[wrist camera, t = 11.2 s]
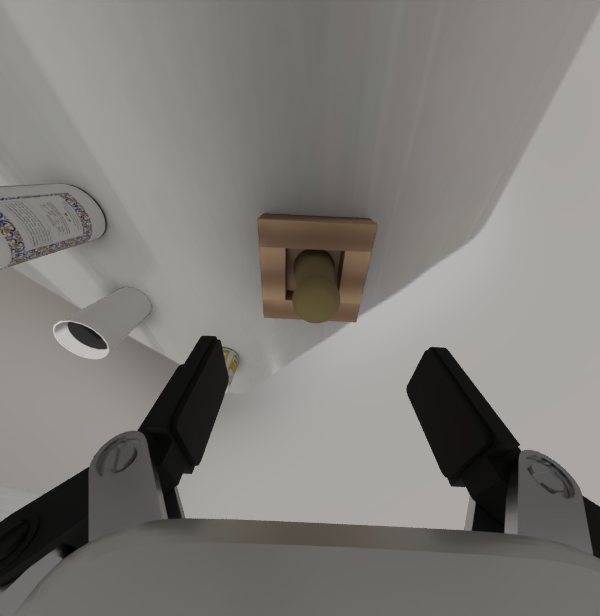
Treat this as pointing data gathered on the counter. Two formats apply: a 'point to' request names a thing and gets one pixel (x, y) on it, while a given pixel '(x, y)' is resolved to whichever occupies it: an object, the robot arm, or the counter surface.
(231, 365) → the supplement bottle
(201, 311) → the counter surface
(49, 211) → the bath foam
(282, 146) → the counter surface
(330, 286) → the olive brown peg
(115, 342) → the white cylindrical cup
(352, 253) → the socket block
